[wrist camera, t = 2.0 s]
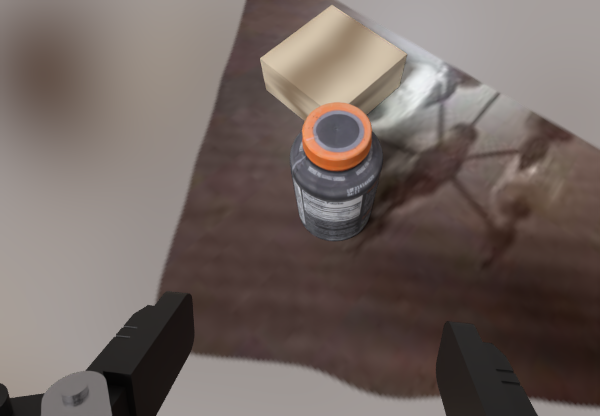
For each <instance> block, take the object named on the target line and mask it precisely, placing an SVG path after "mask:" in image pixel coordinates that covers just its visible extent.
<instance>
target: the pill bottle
mask: <svg viewBox="0 0 600 416" xmlns="http://www.w3.org/2000/svg"><path fill="white" fill-rule="evenodd" d="M382 164H383V152H382V148H381V145H380V143H379V140H378V139H377V137H376V135H375V134H374V133H373V132H372V127H371V123H370V120H369V118H368V117H367V116H366V114H365V113H364V112H363V111H362V110H360V109H359V108H357V107H355V106H353V105H351V104H347V103H340V102H334V103H328V104H325V105H322V106H320V107H318V108H316V109H315V110H313V111H312V112H311V113H310V114H309V116H308V117H307V118H306V120H305V122H304V125H303V129H302V131H301V132H300V133H299V135H298V136H297V137H296V139H295V141H294V143H293V145H292V148H291V152H290V166H291V174H292V179H293V185H294V190H295V195H296V200H297V206H298V212H299V216H300V218H301V221H302V223H303V225H304V226H305V228H306V229H307V230H308V231H309V232H310V233H312V234H313V235H314V236H316V237H318V238H321V239H324V240H328V241H342V240H346V239H349V238H351V237H353V236H355V235H356V234H358V233H359V232H360V231H361V230H362V229H363V228H364V227H365V225H366V224H367V222H368V219H369V217H370V214H371V210H372V206H373V202H374V198H375V194H376V189H377V185H378V181H379V177H380V173H381V169H382Z"/></svg>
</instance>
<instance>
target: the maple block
mask: <svg viewBox="0 0 600 416" xmlns="http://www.w3.org/2000/svg"><path fill="white" fill-rule="evenodd" d="M406 57H407V54H406V53H405V52H403V51H402V50H400V49H399V48H397V47H396V46H394V45H392V44H391V43H389V42H388V41H386V40H385V39H383V38H382V37H380V36H379V35H377V34H376V33H374V32H373V31H371V30H369V29H368V28H366V27H365V26H363V25H362V24H360V23H359V22H357V21H356V20H354V19H353V18H351V17H349V16H348V15H346V14H345V13H343V12H342V11H340V10H339V9H337V8H336V7H334V6H333V5H331V6H330V7H329V8H327V9H326V10H325V11H323V12H322V13H320V14H319V15H318V16H316V17H315V18H314V19H312V20H311V21H310V22H308V23H307V24H306V25H304V26H303V27H302V28H300V29H299V30H298V31H296V32H295V33H294V34H292V35H291V36H290V37H288V38H287V39H286V40H284V41H283V42H282V43H280V44H279V45H278V46H276V47H275V48H274V49H272V50H271V51H270V52H268V53H267V54H265V55H264V56H263V57H261V58H260V61H261V65H262V70H263V75H264V80H265V85H266V90H267V91H269V92H270V93H271V94H272V95H273V96H275V97H276V98H277V99H278V100H280V101H281V102H282V103H283V104H285V105H286V106H287V107H288V108H289V109H291V110H292V111H293V112H294V113H296V114H297V115H298V116H299V117H300V118H302V119H303V120H304V121H305V120H306V118H307V117H308V116H309V114H310V113H311V112H312V111H313V110H315V109H316V108H318V107H320V106H322V105H325V104H328V103H334V102H340V103H347V104H351V105H353V106H355V107H357V108H359V109H360V110H362V111H363V112H364V113H365V114H366V115H367V114H368V113H369V112H370V111H372V110H373V109H374V108H375V107H376V106H377V105H378V104H380V103H381V102H382V101H383V100H384V99H385V98H386V97H388V96H389V95H390V94H391V93H392V92H393V91H395V90H396V89H397V88H398V87H399V85H400V81H401V77H402V73H403V69H404V65H405V61H406Z"/></svg>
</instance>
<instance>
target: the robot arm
mask: <svg viewBox="0 0 600 416" xmlns="http://www.w3.org/2000/svg"><path fill="white" fill-rule="evenodd" d="M193 342H194V319H193V303H192V296H191V294H189V293H179V292H170V291H167V292H165V293H164V294H163V296H162V297H161V298H160V299H159V301H158V302H157V303H156V304H155V306H151V305H147V306H146V307H144V308H143V309H141V310H139V311H138V312H136V313H135V314H133V315H132V317H131V318H130V319H129V320H128V321H127V322H126V324H125V325H124V327H123V328H121V329H120V331H119V332H118V333H117V334H116V337H114V338H113V339H112V340H111V341H110V342H109V344H108V345H107V346H106V347H105V348H104V349H103V351H102V352H101V353H100V354H99V355H98V356H97V358H96V359H95V360H94V361H93V362H92V364H91V365H90V366H89V367H88V368H87V370H86V371H82V372H77V373H73V374H70V375H68V376H66V377H63V378H62V379H60V380H58V381H57V382H56V383H54V384H53V385H52V386H51V387H50V388H49V389H48V390H47V391H46V393H43V394H37V395H30V396H22V397H15V398H10V397H9V394H8V390H7V388H6V387H5V386H4V385H3V384H1V383H0V416H156V415H157V413H158V411H159V409H160V407H161V406H162V404H163V402H164V400H165V398H166V396H167V395H168V393H169V391H170V389H171V387H172V385H173V384H174V382H175V380H176V378H177V376H178V374H179V372H180V370H181V369H182V367H183V365H184V363H185V361H186V360H187V358H188V356H189V354H190V352H191V349H192V346H193ZM436 378H437V384H438V387H439V391H440V395H441V398H442V402H443V405H444V409H445V412H446V416H538V415H537V414H536V412H535V410H534V408H533V406H532V404H531V402H530V400H529V399H528V397H527V395H526V393H525V391H524V389H523V387H522V386H520V382H519V380H518V378H517V376H516V374H514V373H513V369H512V367H511V365H510V363H509V361H508V360H507V358H506V356H505V355H504V354H503V353H502V352H501V351H499V350H498V349H497V348H496V347H495V346H494V345H493V344H492V343H485V342H482V340H481V338H480V336H479V334H478V332H477V330H476V328H475V326H474V325H473V324H468V323H459V322H449V321H447V322H446V323H445V325H444V329H443V334H442V338H441V343H440V348H439V353H438V357H437V362H436Z"/></svg>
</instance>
